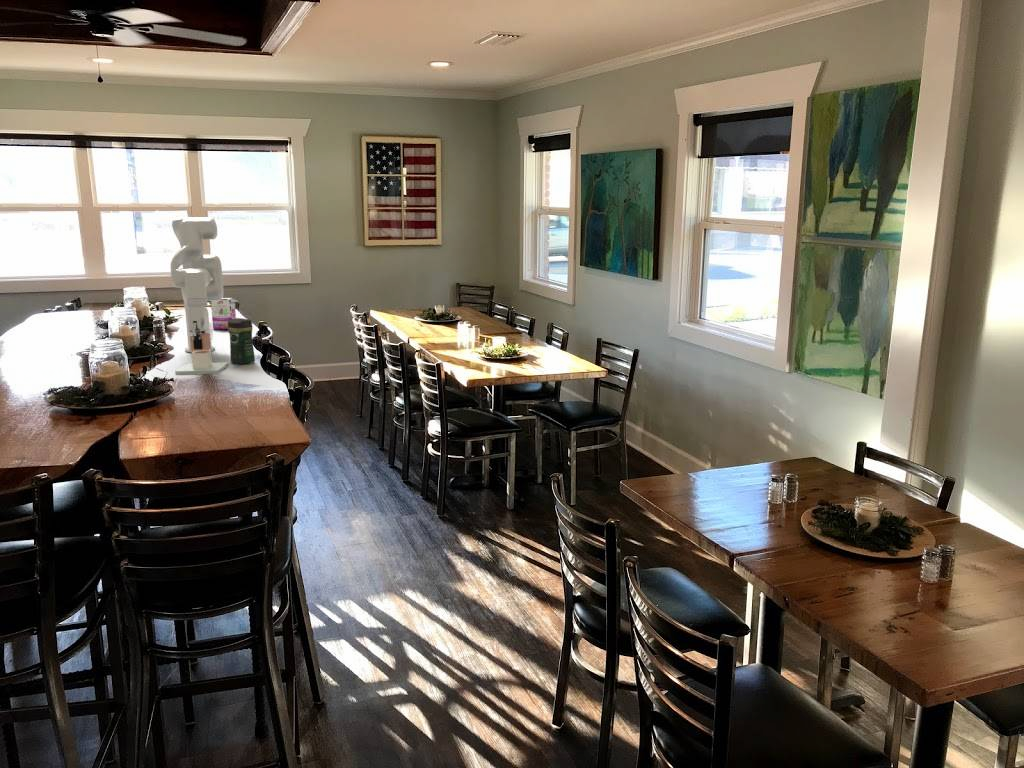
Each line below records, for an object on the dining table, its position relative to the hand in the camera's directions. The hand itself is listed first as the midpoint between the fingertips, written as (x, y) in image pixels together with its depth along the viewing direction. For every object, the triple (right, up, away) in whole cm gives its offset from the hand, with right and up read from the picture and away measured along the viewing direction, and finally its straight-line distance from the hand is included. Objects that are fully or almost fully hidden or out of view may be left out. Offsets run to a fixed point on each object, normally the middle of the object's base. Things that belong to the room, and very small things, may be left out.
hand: (200, 347), depth 319 cm
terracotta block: (0, -1, 0) cm, 1 cm away
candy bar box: (-27, +14, +102) cm, 107 cm away
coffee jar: (+11, -6, +16) cm, 21 cm away
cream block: (0, -8, +2) cm, 8 cm away
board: (0, -9, +2) cm, 9 cm away
